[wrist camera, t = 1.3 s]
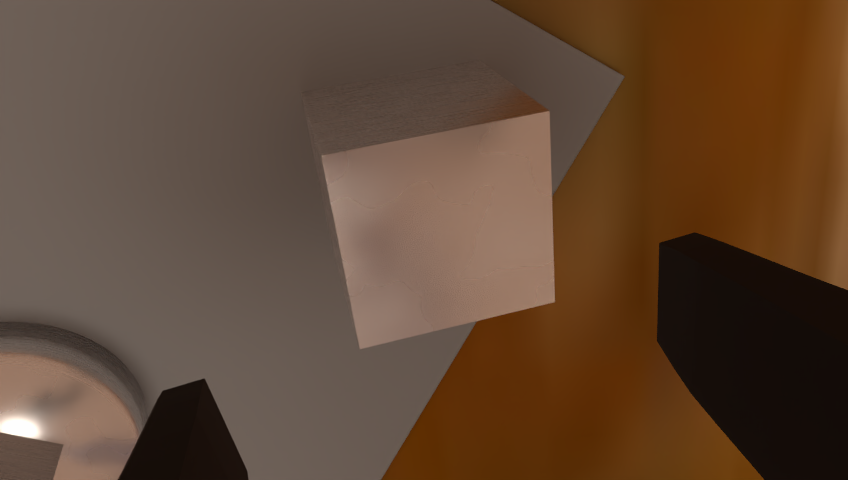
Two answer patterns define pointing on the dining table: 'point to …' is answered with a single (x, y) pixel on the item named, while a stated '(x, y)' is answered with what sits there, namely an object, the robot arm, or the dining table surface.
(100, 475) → the ratchet
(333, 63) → the mat
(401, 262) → the pale pink cube
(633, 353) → the dining table surface
